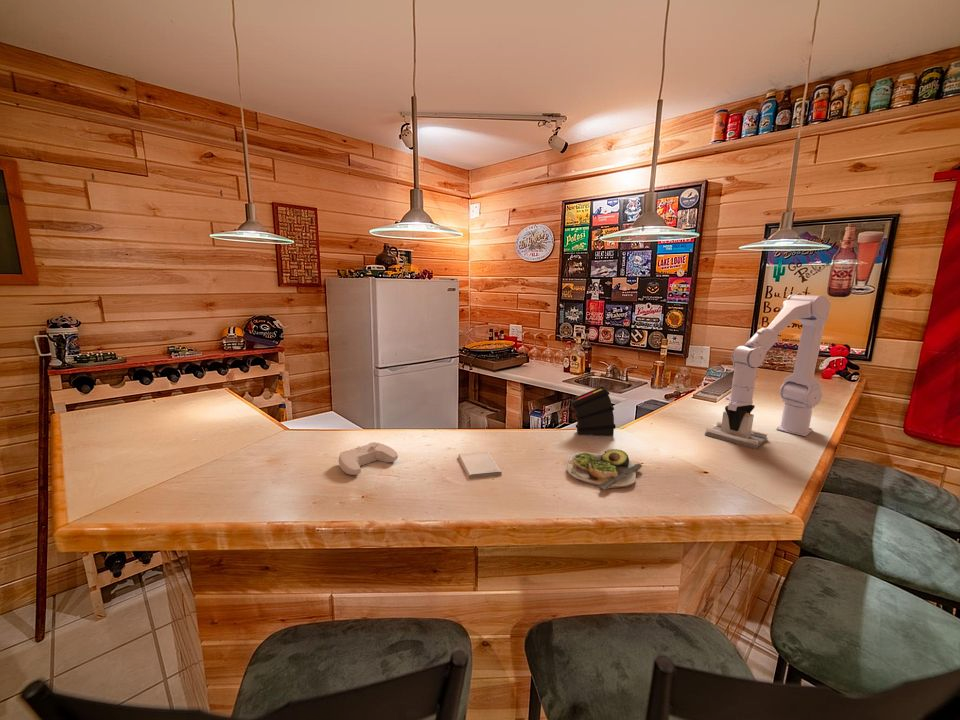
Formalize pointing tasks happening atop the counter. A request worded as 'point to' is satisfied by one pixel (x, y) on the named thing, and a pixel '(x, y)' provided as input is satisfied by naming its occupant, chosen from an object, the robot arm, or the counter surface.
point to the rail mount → (737, 437)
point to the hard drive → (479, 465)
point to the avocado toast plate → (604, 468)
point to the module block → (744, 427)
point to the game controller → (365, 457)
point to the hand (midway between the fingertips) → (736, 428)
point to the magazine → (594, 413)
